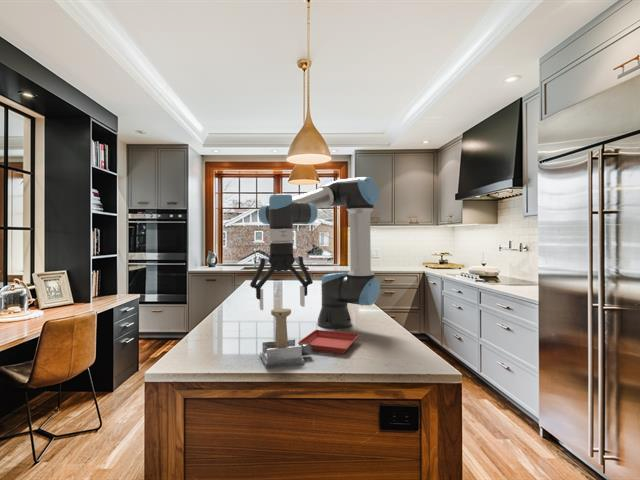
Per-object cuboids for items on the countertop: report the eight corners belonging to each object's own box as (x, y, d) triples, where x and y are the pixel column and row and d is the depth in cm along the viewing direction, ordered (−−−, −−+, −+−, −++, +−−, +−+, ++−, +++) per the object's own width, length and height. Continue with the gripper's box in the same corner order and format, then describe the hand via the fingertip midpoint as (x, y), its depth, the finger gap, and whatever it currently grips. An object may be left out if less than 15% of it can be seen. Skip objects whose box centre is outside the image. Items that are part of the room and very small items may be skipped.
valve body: (305, 351, 129) (305, 336, 129) (316, 362, 118) (316, 346, 117) (260, 355, 124) (260, 340, 124) (266, 368, 112) (266, 351, 112)
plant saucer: (346, 357, 123) (346, 347, 123) (296, 351, 130) (296, 342, 130) (359, 342, 140) (359, 333, 140) (315, 337, 147) (315, 329, 146)
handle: (272, 353, 122) (272, 308, 122) (292, 353, 122) (291, 308, 122) (270, 358, 118) (270, 311, 117) (290, 358, 118) (290, 311, 117)
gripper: (243, 243, 112) (245, 313, 112) (321, 241, 120) (322, 306, 120) (240, 242, 119) (242, 308, 120) (314, 241, 127) (315, 302, 127)
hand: (282, 307), depth 120 cm, fingers open, 13 cm apart
